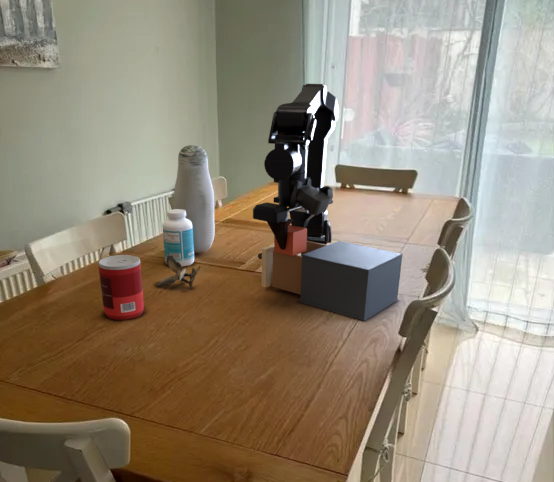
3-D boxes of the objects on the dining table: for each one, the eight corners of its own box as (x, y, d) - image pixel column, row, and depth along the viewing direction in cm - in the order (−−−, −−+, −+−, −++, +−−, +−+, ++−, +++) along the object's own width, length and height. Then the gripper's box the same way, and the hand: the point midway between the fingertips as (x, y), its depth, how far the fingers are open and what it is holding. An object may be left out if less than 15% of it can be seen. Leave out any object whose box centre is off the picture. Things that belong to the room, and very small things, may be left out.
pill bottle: (189, 257, 146) (187, 206, 140) (198, 265, 140) (195, 212, 134) (161, 261, 143) (158, 209, 137) (169, 269, 137) (165, 215, 131)
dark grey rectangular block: (300, 302, 117) (302, 254, 113) (336, 284, 128) (339, 240, 124) (364, 321, 109) (368, 270, 105) (397, 300, 120) (402, 253, 115)
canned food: (151, 308, 113) (147, 257, 108) (130, 323, 106) (124, 268, 101) (119, 303, 115) (114, 252, 110) (96, 317, 108) (89, 263, 104)
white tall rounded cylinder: (170, 252, 150) (163, 145, 138) (198, 245, 157) (193, 142, 146) (195, 259, 144) (189, 148, 133) (222, 251, 151) (220, 145, 140)
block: (274, 251, 118) (274, 228, 116) (287, 246, 122) (288, 224, 120) (292, 256, 115) (293, 232, 113) (306, 250, 119) (307, 228, 117)
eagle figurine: (203, 276, 128) (169, 265, 130) (199, 257, 122) (163, 245, 124) (188, 301, 125) (153, 289, 126) (184, 283, 119) (147, 271, 120)
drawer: (247, 282, 126) (247, 244, 122) (282, 268, 136) (283, 233, 132) (314, 301, 116) (316, 261, 112) (347, 285, 125) (350, 247, 122)
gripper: (297, 183, 100) (294, 264, 107) (350, 171, 114) (345, 244, 120) (250, 176, 106) (251, 253, 113) (306, 165, 120) (303, 235, 126)
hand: (290, 246), depth 118 cm, fingers closed on block, 5 cm apart
